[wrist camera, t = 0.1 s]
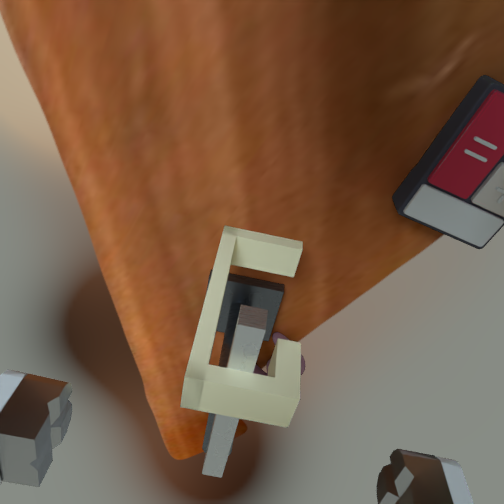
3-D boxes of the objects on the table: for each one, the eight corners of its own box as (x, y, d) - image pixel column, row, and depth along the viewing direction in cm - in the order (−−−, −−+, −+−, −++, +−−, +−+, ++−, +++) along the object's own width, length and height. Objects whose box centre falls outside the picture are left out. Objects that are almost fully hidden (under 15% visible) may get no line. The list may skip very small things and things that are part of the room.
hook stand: (228, 162, 49) (181, 313, 31) (316, 180, 50) (321, 341, 31) (202, 320, 65) (161, 482, 47) (269, 333, 66) (254, 499, 47)
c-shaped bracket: (224, 225, 49) (184, 376, 33) (302, 241, 49) (300, 399, 33) (219, 253, 51) (180, 406, 35) (293, 268, 51) (287, 427, 36)
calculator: (595, 134, 40) (483, 254, 49) (571, 118, 44) (470, 233, 52) (495, 82, 39) (397, 217, 47) (478, 70, 42) (390, 198, 50)
